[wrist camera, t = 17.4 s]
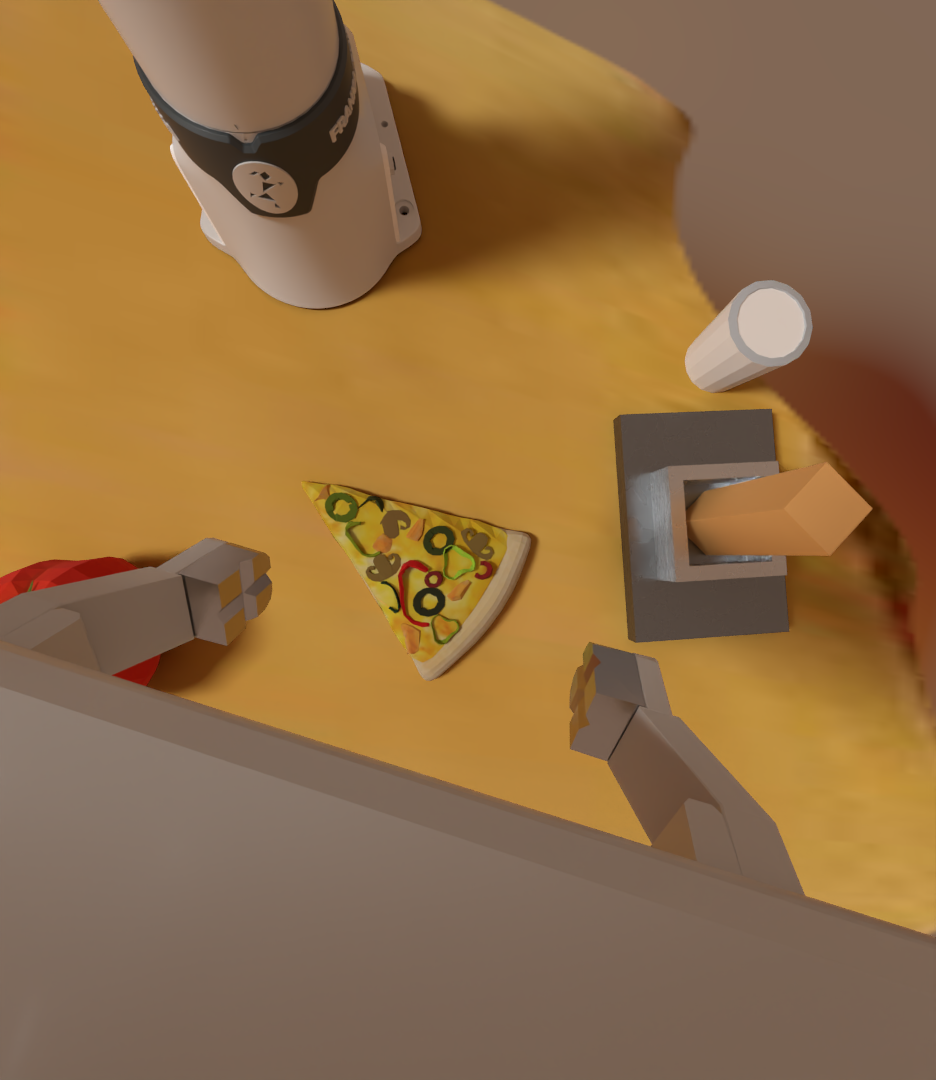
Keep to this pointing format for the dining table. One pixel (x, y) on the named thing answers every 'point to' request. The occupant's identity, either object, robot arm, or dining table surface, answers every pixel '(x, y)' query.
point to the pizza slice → (425, 569)
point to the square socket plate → (661, 532)
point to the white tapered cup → (750, 337)
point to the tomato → (71, 572)
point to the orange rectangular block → (777, 515)
